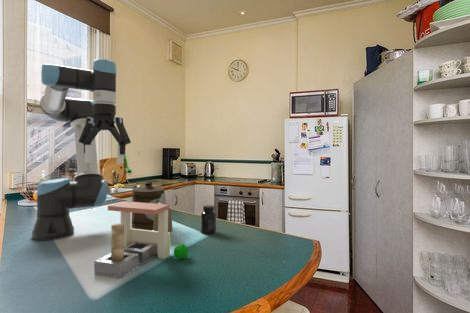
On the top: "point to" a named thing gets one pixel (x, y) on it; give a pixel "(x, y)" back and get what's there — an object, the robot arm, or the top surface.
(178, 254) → the polyhedron
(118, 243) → the peg
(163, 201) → the squeeze bottle
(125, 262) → the socket
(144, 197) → the wooden container
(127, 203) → the pink-topped stool
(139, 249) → the inner socket
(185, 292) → the top surface
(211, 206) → the supplement bottle
